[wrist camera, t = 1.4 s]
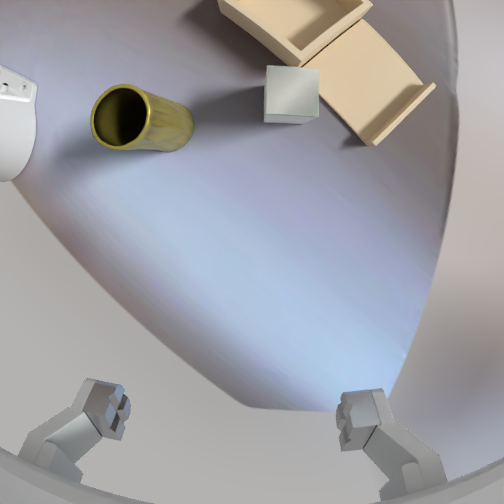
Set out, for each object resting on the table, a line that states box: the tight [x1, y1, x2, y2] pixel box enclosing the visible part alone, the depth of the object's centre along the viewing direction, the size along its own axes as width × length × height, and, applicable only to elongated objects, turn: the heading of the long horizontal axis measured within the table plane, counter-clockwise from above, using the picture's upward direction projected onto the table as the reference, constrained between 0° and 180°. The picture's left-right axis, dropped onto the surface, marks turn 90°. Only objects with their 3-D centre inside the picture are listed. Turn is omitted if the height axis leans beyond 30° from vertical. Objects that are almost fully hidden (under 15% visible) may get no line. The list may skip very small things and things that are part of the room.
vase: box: [90, 84, 194, 152], centre depth 26 cm, size 6×6×14 cm
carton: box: [264, 65, 319, 124], centre depth 28 cm, size 5×4×9 cm
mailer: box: [217, 0, 436, 146], centre depth 27 cm, size 24×12×5 cm, turn 46°
